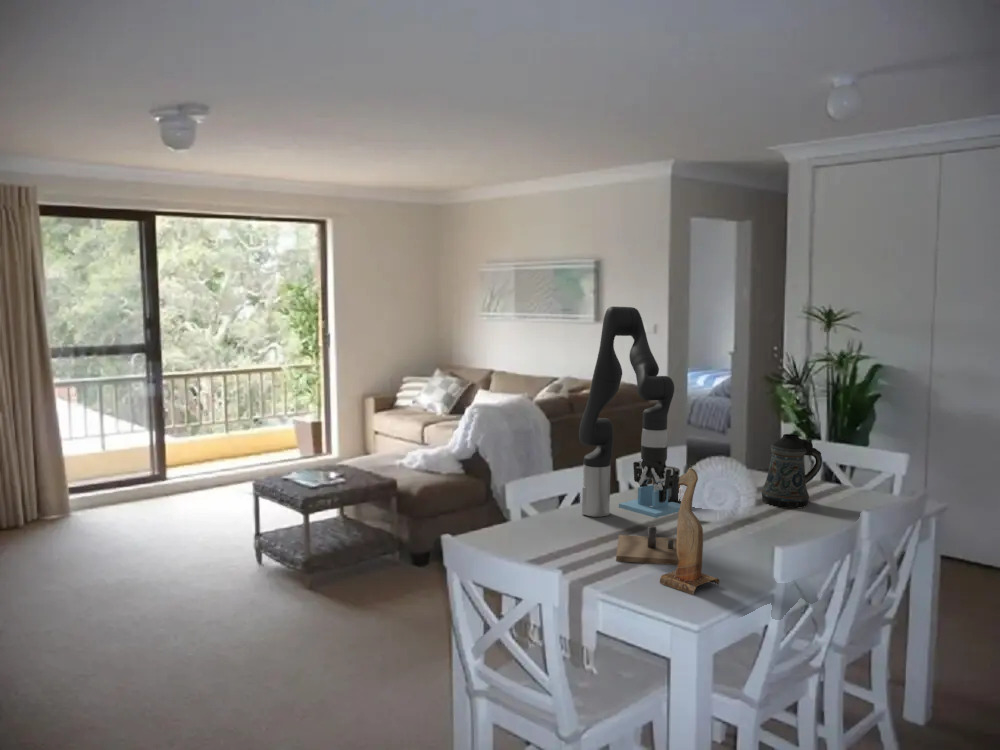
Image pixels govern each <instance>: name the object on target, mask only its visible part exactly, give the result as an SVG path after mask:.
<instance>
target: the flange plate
mask: <svg viewBox="0 0 1000 750" xmlns="http://www.w3.org/2000/svg"><path fill="white" fill-rule="evenodd" d="M646 485H647V486H643V487H640V486H639V487H637V498H635V499H632V500H628V501H625V502H620V503H618V508H620V509H624V510H627V511H630V512H634V513H636V514H640V515H645V516H648V517H651V518H653V519H657V518H660V517H664V516H668V515H671V514H676V513H679V509H680V505H681V503H679V502H677V503H675V502H669V503H668V489H667V499H666V501H665V502H663V503H661V502H659V490H660V489H659V490H655V491H654V485H652V483H651V484H646Z"/></svg>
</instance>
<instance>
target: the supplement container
mask: <svg viewBox="0 0 1000 750" xmlns="http://www.w3.org/2000/svg"><path fill="white" fill-rule="evenodd" d="M666 467H667V468H670V469H672V468H674V469H675V474H674V483H673V488H670V489H668V503H669V502H675V503H679V502H680V501H678V493H679V488H680V485H679V484H678V483H679V478H680V476H681V469H680V468H679V467H675V466H668V465H666ZM665 476H666V475H665ZM660 479H662V478H660ZM651 484H652V485H654V491H655V490H659V489H660V488H659V485H658V483H656V480H655V479H653V478H651ZM662 484H663V483H662Z"/></svg>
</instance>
